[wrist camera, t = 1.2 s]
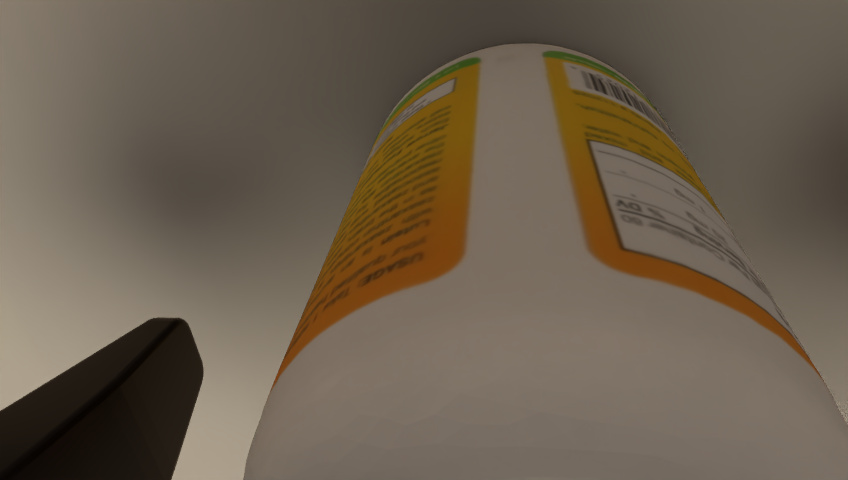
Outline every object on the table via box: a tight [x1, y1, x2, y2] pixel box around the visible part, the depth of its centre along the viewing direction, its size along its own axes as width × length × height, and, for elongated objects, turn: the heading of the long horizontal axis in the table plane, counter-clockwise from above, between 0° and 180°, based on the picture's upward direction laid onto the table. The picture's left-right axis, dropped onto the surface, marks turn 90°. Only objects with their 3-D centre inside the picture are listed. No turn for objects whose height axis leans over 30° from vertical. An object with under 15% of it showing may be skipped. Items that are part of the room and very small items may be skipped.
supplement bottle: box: [244, 43, 848, 480], centre depth 7 cm, size 5×5×10 cm
